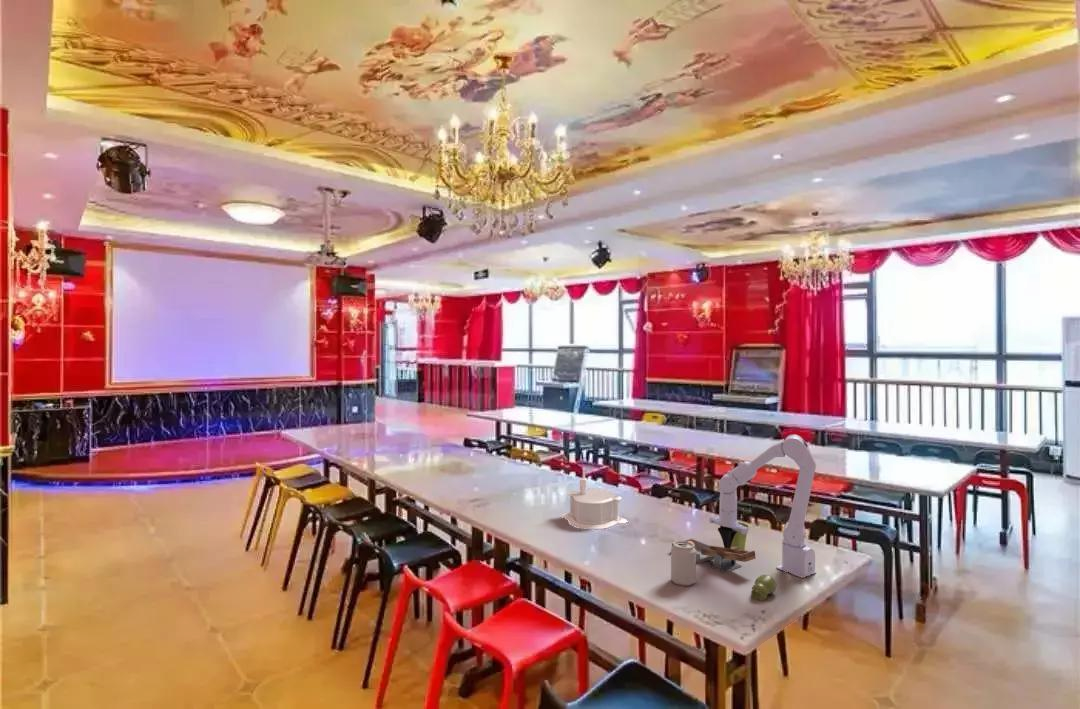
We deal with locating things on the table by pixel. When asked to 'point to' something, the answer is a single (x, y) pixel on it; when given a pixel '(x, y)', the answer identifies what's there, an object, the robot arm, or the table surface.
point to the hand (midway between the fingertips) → (727, 548)
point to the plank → (730, 553)
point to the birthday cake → (593, 507)
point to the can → (683, 563)
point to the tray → (698, 547)
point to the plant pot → (740, 538)
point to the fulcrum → (723, 564)
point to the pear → (763, 587)
